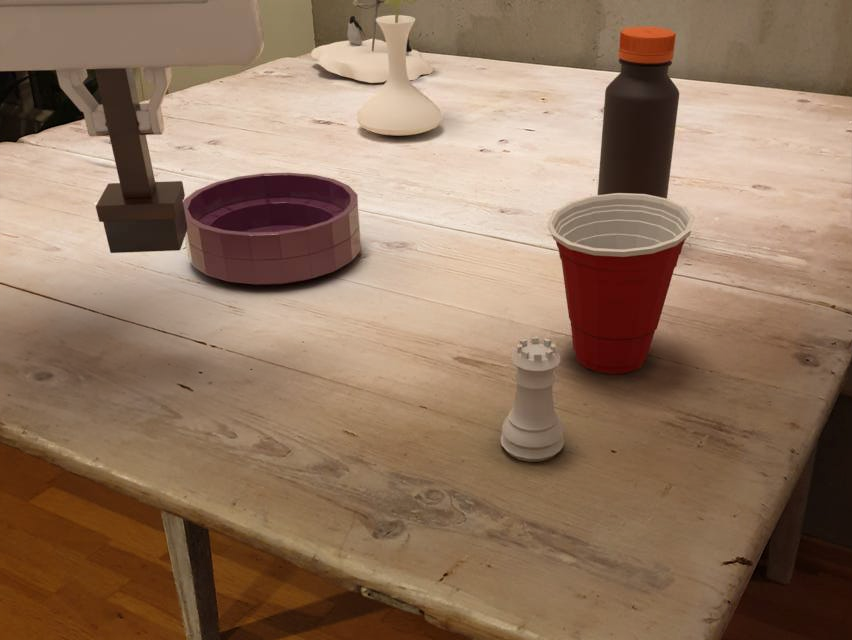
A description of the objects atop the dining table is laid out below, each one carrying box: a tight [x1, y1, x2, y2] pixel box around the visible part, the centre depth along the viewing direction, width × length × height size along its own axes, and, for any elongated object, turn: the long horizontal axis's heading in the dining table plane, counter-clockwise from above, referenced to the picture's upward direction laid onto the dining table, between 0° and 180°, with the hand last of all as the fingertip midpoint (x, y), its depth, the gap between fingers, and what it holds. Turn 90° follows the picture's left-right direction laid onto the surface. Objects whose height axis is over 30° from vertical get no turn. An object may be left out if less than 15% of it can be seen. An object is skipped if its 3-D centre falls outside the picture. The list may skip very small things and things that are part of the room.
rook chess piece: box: [500, 336, 565, 463], centre depth 65 cm, size 4×4×8 cm
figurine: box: [309, 0, 434, 84], centre depth 151 cm, size 20×18×16 cm
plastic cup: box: [546, 193, 695, 375], centre depth 75 cm, size 11×11×12 cm
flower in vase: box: [355, 0, 444, 137], centre depth 122 cm, size 13×11×25 cm
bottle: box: [596, 26, 680, 199], centre depth 92 cm, size 7×7×20 cm
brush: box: [94, 68, 188, 254], centre depth 68 cm, size 5×4×13 cm
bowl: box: [183, 172, 362, 286], centre depth 93 cm, size 16×16×6 cm
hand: (127, 133), depth 67 cm, fingers closed on brush, 2 cm apart
